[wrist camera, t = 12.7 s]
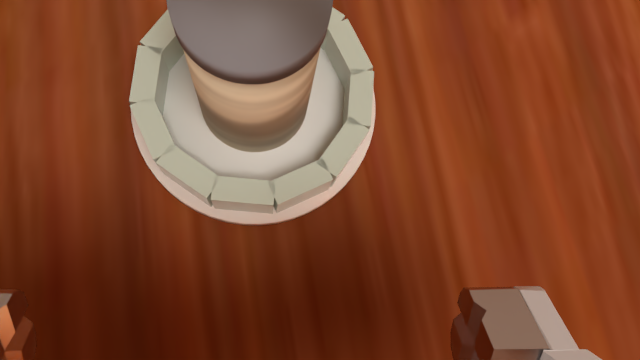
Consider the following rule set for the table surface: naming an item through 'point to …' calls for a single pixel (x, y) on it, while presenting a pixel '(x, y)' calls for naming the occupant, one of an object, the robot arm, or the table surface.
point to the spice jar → (252, 64)
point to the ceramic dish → (253, 167)
